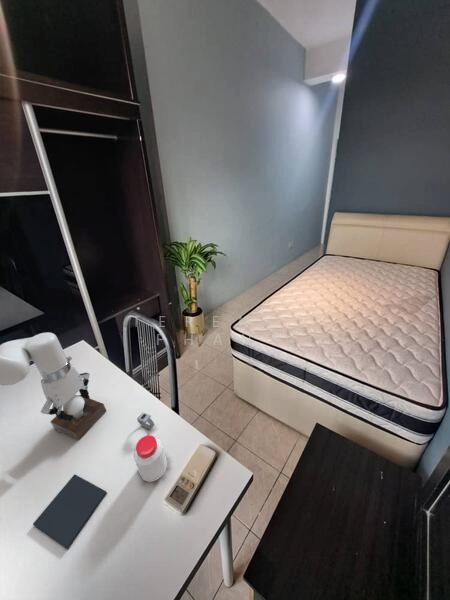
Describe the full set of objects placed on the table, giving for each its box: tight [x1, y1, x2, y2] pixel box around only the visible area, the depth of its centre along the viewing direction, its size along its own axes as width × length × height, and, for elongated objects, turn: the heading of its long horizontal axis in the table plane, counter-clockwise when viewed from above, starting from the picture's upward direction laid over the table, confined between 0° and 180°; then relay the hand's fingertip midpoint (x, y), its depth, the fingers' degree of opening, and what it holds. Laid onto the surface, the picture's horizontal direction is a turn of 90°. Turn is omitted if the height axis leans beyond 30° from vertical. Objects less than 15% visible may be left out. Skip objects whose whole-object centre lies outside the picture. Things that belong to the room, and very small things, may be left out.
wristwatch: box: [137, 412, 155, 430], centre depth 83 cm, size 6×3×5 cm, turn 65°
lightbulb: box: [62, 394, 85, 423], centre depth 85 cm, size 6×6×11 cm
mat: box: [32, 474, 108, 550], centre depth 64 cm, size 12×12×1 cm
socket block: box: [50, 394, 107, 441], centre depth 86 cm, size 12×12×4 cm
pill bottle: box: [133, 434, 168, 483], centre depth 70 cm, size 8×8×11 cm
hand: (75, 407), depth 84 cm, fingers open, 8 cm apart
